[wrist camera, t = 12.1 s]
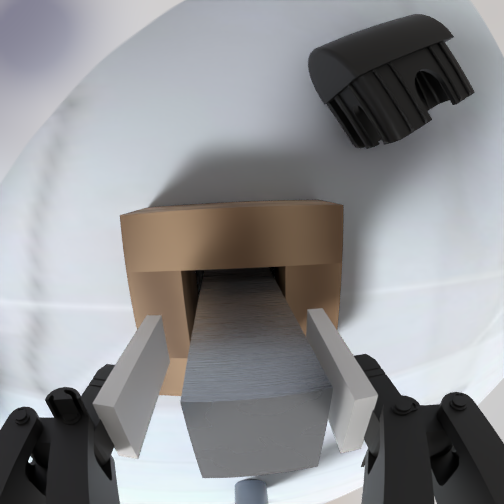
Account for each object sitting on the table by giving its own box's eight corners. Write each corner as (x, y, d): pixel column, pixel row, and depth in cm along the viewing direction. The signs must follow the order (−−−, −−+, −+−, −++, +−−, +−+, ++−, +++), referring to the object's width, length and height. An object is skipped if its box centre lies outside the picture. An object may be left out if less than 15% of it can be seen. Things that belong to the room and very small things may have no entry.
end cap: (387, 35, 17) (428, 0, 10) (433, 103, 18) (485, 87, 12) (296, 74, 18) (320, 31, 11) (351, 154, 19) (399, 143, 12)
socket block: (167, 356, 22) (153, 394, 17) (147, 207, 19) (120, 215, 14) (313, 350, 22) (330, 387, 17) (318, 199, 20) (343, 204, 15)
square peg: (210, 313, 21) (202, 478, 7) (206, 261, 20) (180, 402, 6) (264, 310, 21) (317, 466, 8) (263, 258, 20) (333, 388, 7)
